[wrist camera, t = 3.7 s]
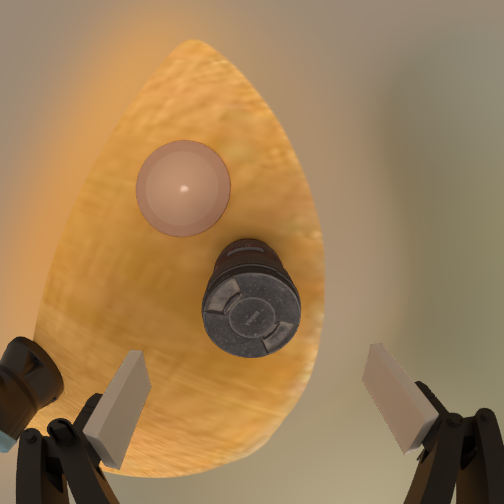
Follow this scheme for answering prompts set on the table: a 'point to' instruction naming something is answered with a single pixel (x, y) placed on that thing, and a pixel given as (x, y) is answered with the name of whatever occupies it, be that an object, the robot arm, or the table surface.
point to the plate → (183, 188)
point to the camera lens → (250, 301)
